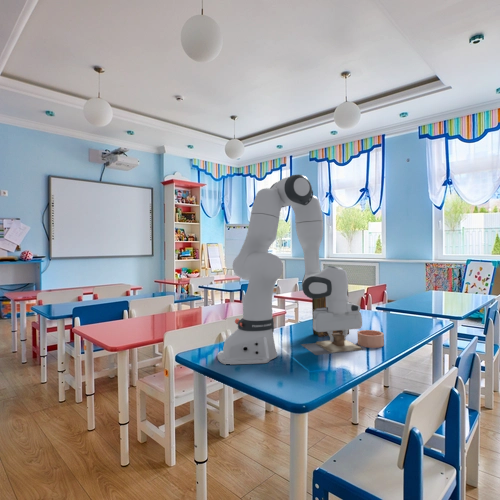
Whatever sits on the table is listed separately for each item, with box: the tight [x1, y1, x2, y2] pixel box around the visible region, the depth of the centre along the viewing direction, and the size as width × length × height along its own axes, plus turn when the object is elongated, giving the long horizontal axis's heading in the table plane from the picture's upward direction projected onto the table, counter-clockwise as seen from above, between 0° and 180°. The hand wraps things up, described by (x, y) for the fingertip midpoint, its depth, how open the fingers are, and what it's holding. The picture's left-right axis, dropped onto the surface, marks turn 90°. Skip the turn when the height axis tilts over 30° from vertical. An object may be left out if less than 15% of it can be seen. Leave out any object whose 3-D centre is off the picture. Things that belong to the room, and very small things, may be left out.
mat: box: [300, 342, 364, 356], centre depth 138 cm, size 20×15×1 cm
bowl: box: [356, 329, 385, 349], centre depth 141 cm, size 10×10×5 cm
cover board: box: [315, 333, 362, 354], centre depth 138 cm, size 13×13×5 cm
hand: (337, 341), depth 138 cm, fingers closed on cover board, 3 cm apart
